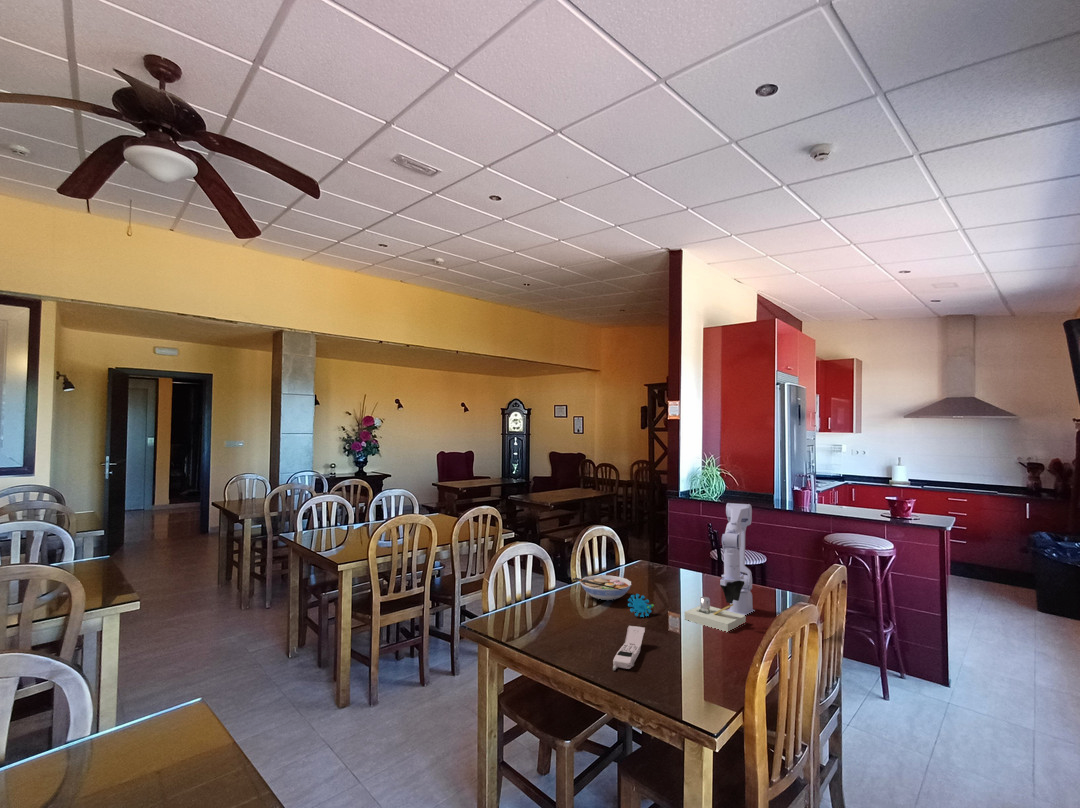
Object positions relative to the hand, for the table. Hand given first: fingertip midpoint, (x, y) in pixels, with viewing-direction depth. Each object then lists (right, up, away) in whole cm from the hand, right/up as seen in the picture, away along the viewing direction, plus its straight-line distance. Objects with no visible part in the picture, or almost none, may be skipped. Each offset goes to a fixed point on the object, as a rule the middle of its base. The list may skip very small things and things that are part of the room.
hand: (732, 601), depth 195 cm
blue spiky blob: (-32, -10, +12) cm, 36 cm away
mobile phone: (-44, -8, -28) cm, 53 cm away
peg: (-8, -10, +8) cm, 15 cm away
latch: (-2, -4, +2) cm, 6 cm away
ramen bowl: (-44, -12, +33) cm, 56 cm away
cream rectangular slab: (-5, -10, +5) cm, 12 cm away
